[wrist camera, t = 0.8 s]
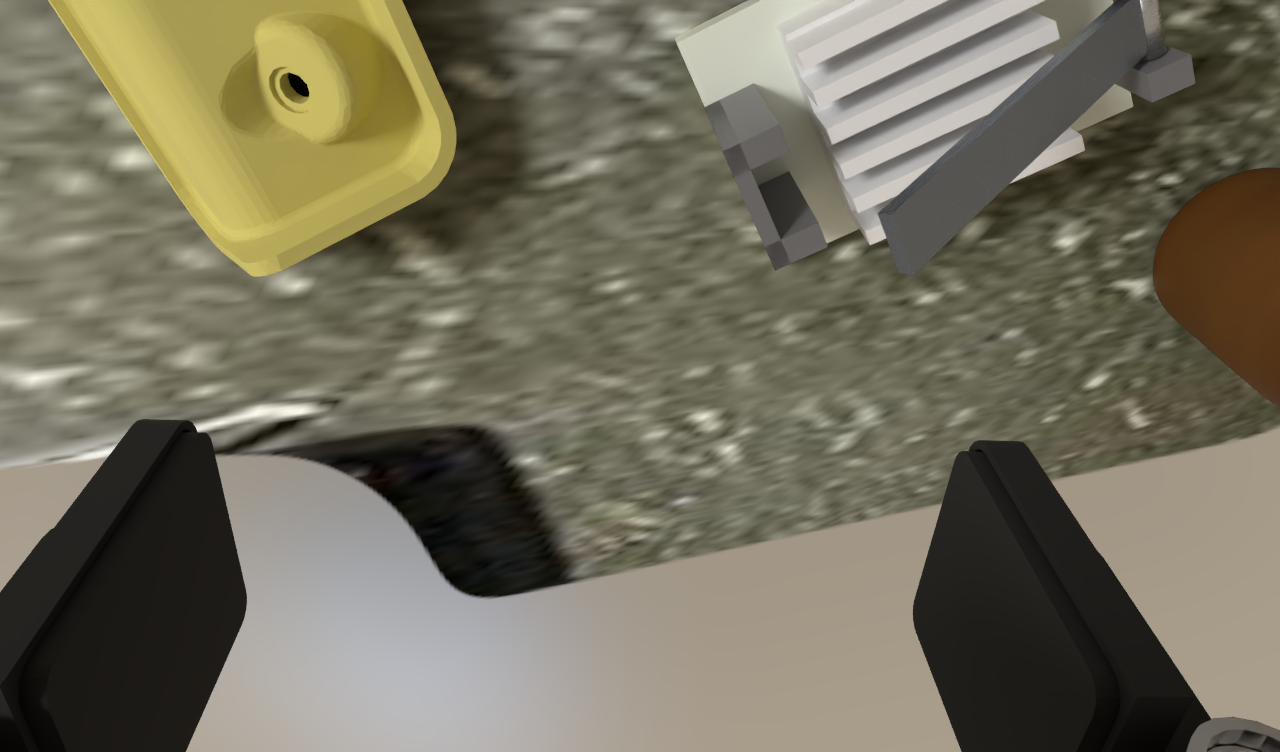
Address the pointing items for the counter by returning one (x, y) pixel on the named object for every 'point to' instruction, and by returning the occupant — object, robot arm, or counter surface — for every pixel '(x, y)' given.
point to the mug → (1228, 274)
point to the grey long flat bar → (1019, 131)
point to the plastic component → (274, 113)
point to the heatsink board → (877, 98)
